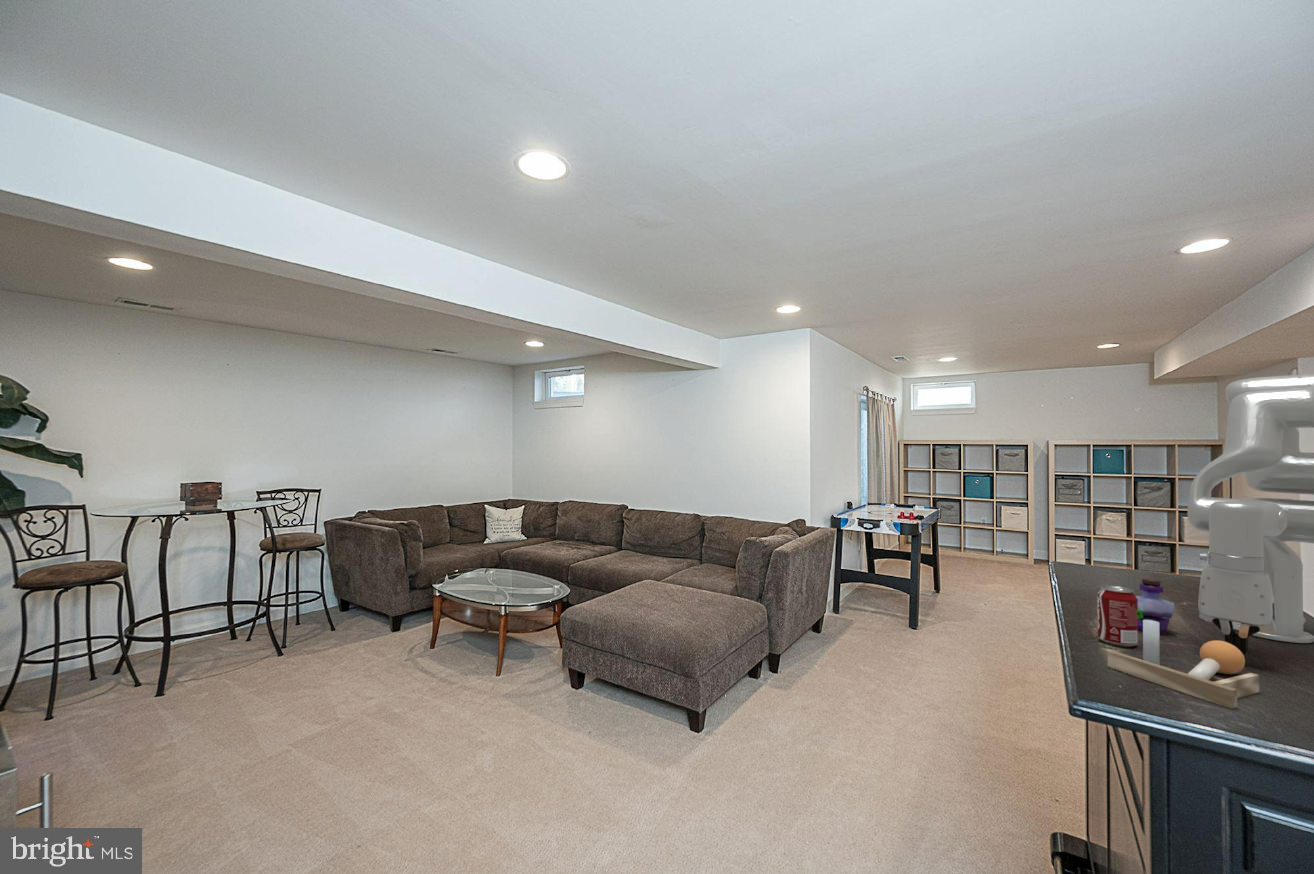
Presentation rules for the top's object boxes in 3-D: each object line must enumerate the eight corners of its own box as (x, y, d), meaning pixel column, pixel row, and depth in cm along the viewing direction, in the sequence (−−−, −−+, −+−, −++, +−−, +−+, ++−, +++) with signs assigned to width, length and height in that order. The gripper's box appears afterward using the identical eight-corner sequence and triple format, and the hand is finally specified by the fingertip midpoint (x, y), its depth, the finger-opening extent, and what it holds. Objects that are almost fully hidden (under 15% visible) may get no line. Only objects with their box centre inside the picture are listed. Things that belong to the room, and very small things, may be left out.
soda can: (1145, 649, 115) (1145, 593, 115) (1109, 647, 116) (1108, 591, 117) (1125, 639, 122) (1124, 585, 122) (1090, 636, 123) (1090, 583, 123)
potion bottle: (1119, 627, 130) (1119, 576, 130) (1137, 622, 134) (1137, 573, 134) (1166, 638, 122) (1165, 585, 123) (1183, 633, 126) (1183, 581, 126)
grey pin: (1147, 661, 108) (1147, 618, 109) (1162, 666, 106) (1162, 622, 106) (1140, 663, 108) (1140, 620, 108) (1155, 667, 105) (1154, 623, 105)
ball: (1195, 661, 103) (1203, 675, 106) (1241, 668, 98) (1248, 683, 101) (1196, 632, 106) (1204, 646, 108) (1240, 637, 101) (1248, 652, 103)
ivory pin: (1203, 655, 102) (1186, 670, 98) (1220, 662, 100) (1204, 677, 96) (1201, 667, 102) (1184, 682, 98) (1218, 673, 100) (1202, 689, 96)
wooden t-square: (1149, 658, 110) (1149, 643, 110) (1275, 696, 93) (1275, 679, 93) (1107, 666, 105) (1107, 651, 106) (1232, 708, 89) (1231, 690, 89)
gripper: (1179, 558, 114) (1179, 646, 113) (1286, 572, 101) (1287, 672, 100) (1192, 555, 117) (1192, 640, 117) (1297, 568, 104) (1298, 664, 104)
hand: (1236, 654), depth 109 cm, fingers closed
